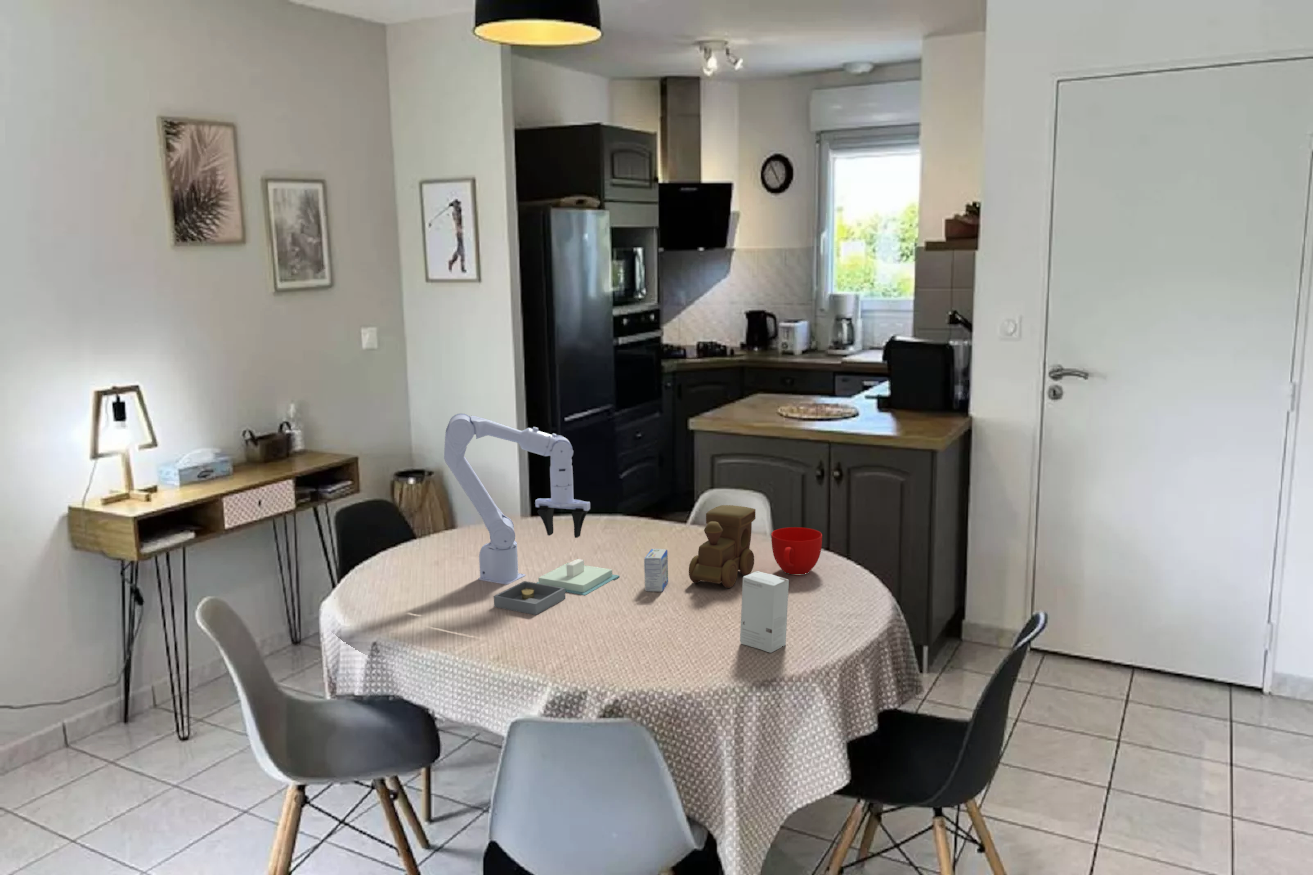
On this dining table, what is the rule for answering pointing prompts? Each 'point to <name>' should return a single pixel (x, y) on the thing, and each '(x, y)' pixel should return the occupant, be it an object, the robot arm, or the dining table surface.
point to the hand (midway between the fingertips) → (563, 535)
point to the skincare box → (764, 611)
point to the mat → (594, 586)
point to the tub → (543, 593)
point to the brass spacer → (527, 593)
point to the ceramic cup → (796, 549)
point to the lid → (576, 576)
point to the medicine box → (656, 570)
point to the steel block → (532, 600)
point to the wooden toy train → (725, 546)
